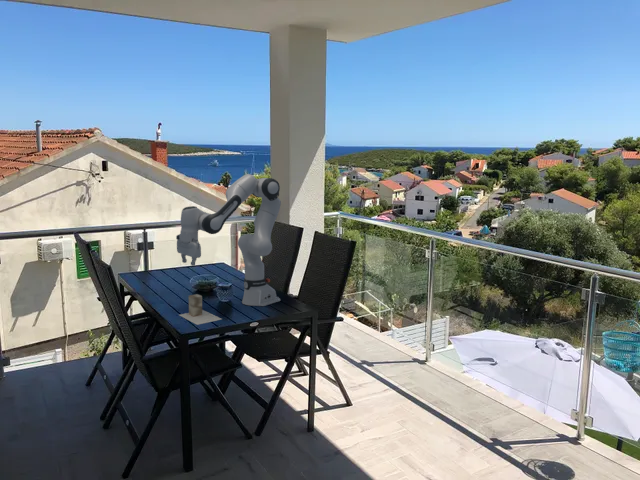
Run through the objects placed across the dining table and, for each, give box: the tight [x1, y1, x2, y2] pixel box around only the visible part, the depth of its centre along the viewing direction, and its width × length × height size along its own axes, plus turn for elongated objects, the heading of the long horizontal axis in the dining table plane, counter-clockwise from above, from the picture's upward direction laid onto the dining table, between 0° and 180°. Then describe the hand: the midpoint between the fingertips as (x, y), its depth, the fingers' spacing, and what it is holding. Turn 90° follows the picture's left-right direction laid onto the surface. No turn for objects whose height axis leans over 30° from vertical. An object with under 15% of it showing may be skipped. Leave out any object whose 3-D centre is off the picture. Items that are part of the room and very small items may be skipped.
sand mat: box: [179, 309, 223, 326], centre depth 244 cm, size 14×20×1 cm
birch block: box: [188, 293, 203, 317], centre depth 246 cm, size 5×5×10 cm
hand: (188, 263), depth 249 cm, fingers open, 8 cm apart
